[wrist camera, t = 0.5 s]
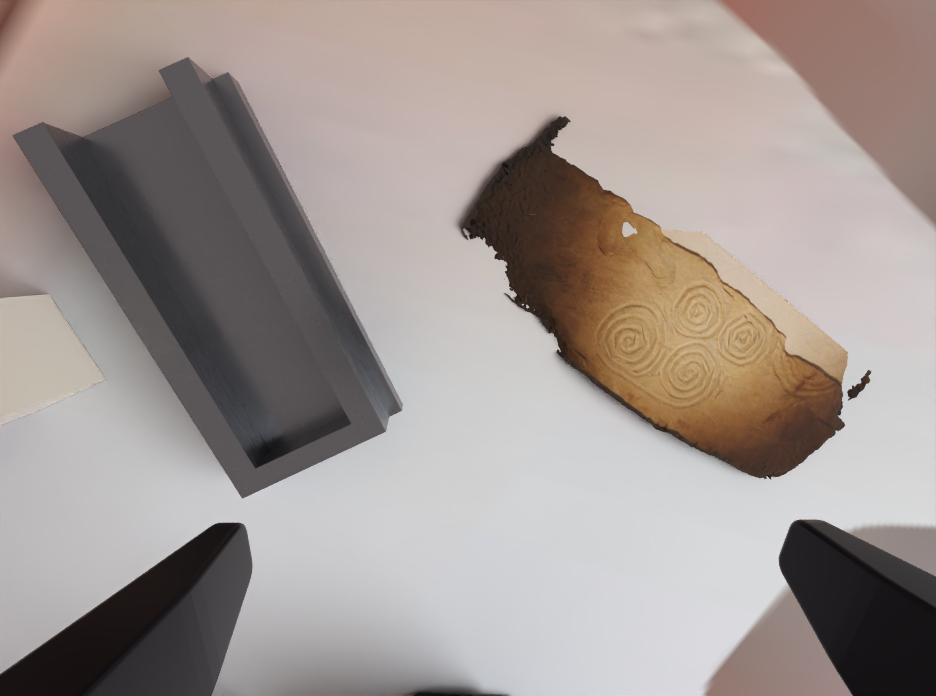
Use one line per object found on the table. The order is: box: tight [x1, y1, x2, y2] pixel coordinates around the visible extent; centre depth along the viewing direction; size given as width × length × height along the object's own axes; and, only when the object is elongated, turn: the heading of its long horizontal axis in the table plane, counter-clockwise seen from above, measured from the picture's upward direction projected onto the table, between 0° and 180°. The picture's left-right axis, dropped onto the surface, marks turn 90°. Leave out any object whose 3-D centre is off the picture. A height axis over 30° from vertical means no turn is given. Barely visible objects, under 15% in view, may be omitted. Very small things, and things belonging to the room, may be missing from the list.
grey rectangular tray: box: [13, 57, 403, 498], centre depth 20 cm, size 16×8×3 cm, turn 24°
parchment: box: [462, 116, 871, 479], centre depth 24 cm, size 25×10×1 cm, turn 55°
